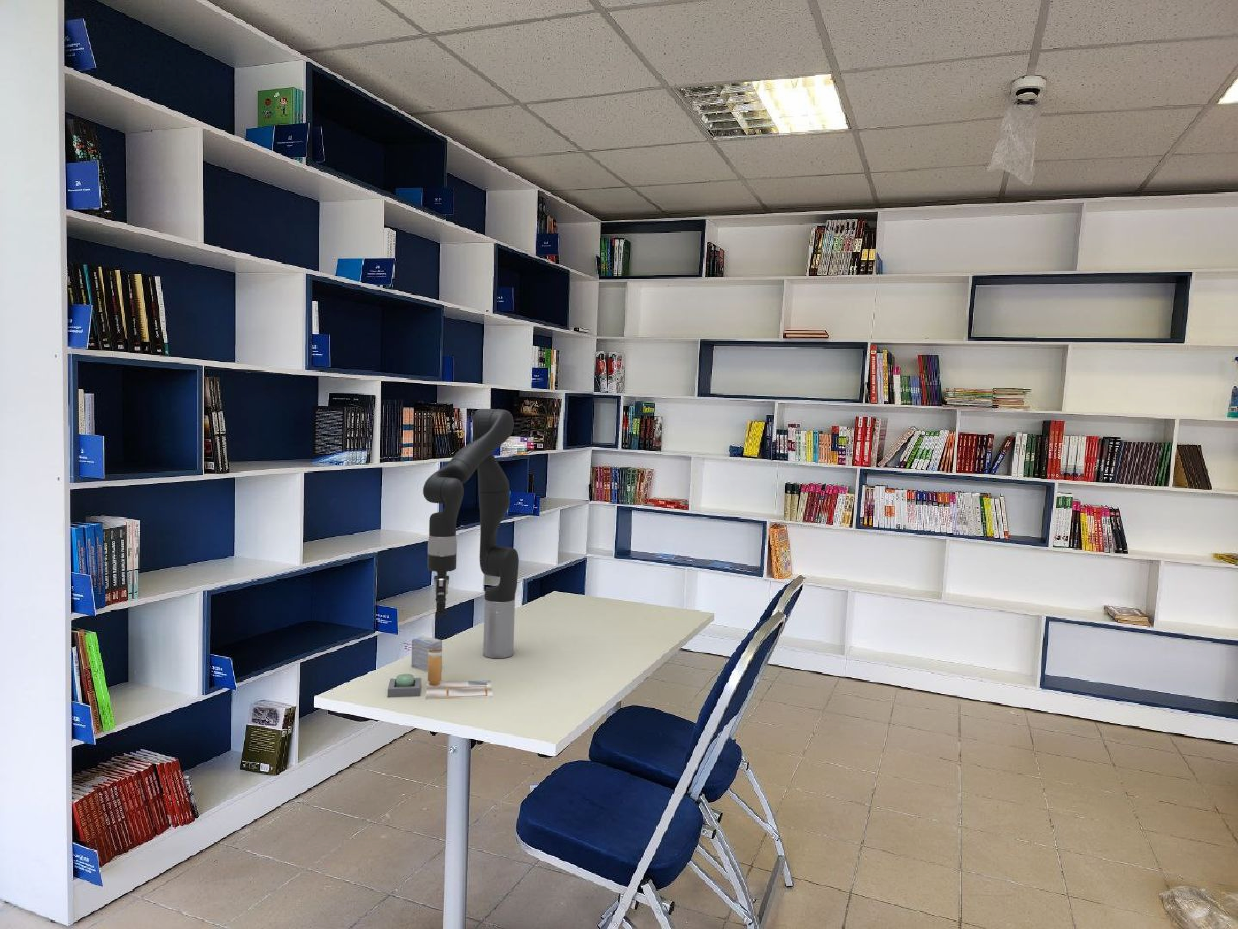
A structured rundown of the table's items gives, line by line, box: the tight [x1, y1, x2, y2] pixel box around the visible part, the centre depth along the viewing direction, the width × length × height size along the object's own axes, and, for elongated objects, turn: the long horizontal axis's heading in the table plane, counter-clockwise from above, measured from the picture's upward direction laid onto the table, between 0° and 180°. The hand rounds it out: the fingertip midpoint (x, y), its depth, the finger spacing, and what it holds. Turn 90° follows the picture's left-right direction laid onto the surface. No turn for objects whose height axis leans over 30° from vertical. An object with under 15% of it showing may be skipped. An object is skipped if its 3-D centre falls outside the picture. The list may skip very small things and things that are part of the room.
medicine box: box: [411, 635, 443, 672], centre depth 230 cm, size 8×4×9 cm, turn 59°
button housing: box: [387, 677, 422, 698], centre depth 210 cm, size 8×8×2 cm
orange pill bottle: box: [427, 649, 443, 685], centre depth 216 cm, size 4×4×9 cm
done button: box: [395, 673, 415, 687], centre depth 210 cm, size 4×4×2 cm
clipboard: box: [425, 679, 494, 700], centre depth 213 cm, size 14×19×1 cm
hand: (440, 611), depth 215 cm, fingers open, 8 cm apart
